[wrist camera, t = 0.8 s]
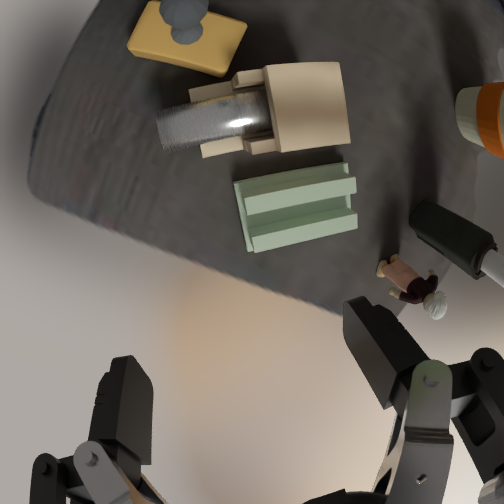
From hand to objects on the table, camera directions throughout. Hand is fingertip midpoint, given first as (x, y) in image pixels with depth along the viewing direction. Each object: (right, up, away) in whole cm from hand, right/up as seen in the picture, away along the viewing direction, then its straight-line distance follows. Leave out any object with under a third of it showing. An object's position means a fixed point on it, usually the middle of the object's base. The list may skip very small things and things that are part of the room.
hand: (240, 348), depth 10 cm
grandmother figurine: (+21, +2, +29) cm, 36 cm away
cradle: (+5, +9, +22) cm, 24 cm away
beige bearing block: (+1, +18, +17) cm, 24 cm away
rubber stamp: (-6, +25, +12) cm, 28 cm away
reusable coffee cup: (+35, +25, +20) cm, 47 cm away
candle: (+26, +8, +26) cm, 38 cm away
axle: (-1, +16, +13) cm, 20 cm away
